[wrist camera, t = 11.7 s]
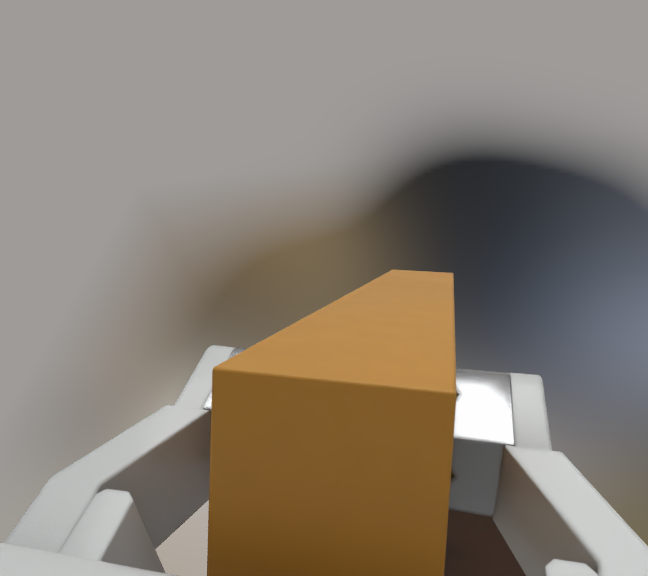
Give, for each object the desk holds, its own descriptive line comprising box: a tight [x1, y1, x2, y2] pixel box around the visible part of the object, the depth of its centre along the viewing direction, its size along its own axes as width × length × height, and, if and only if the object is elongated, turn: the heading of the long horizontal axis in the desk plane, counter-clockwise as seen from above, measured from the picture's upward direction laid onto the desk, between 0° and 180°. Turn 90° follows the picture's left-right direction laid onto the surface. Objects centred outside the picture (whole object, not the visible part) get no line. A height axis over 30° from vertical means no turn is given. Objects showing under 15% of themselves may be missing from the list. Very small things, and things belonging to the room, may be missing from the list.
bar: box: [207, 270, 457, 576], centre depth 18 cm, size 3×22×3 cm, turn 168°
